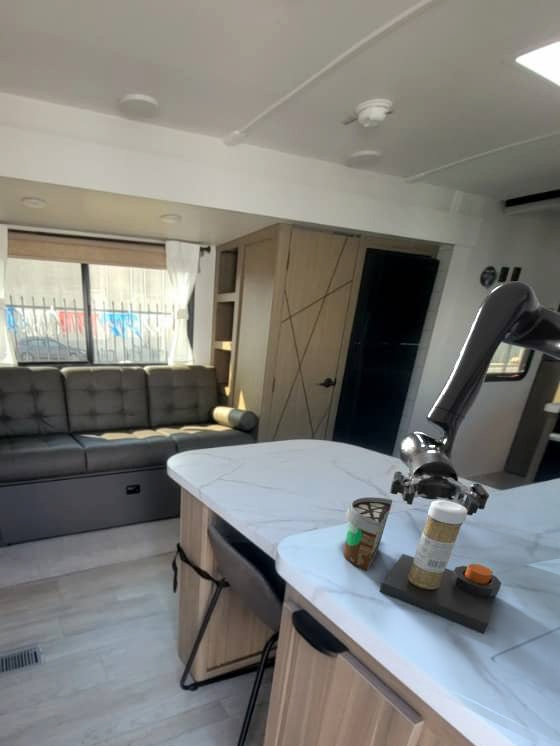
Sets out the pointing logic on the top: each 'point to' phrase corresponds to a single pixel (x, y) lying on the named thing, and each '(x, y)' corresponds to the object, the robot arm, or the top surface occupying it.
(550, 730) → the top surface
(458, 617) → the scale
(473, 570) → the button
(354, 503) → the food container
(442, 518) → the sprinkles bottle
